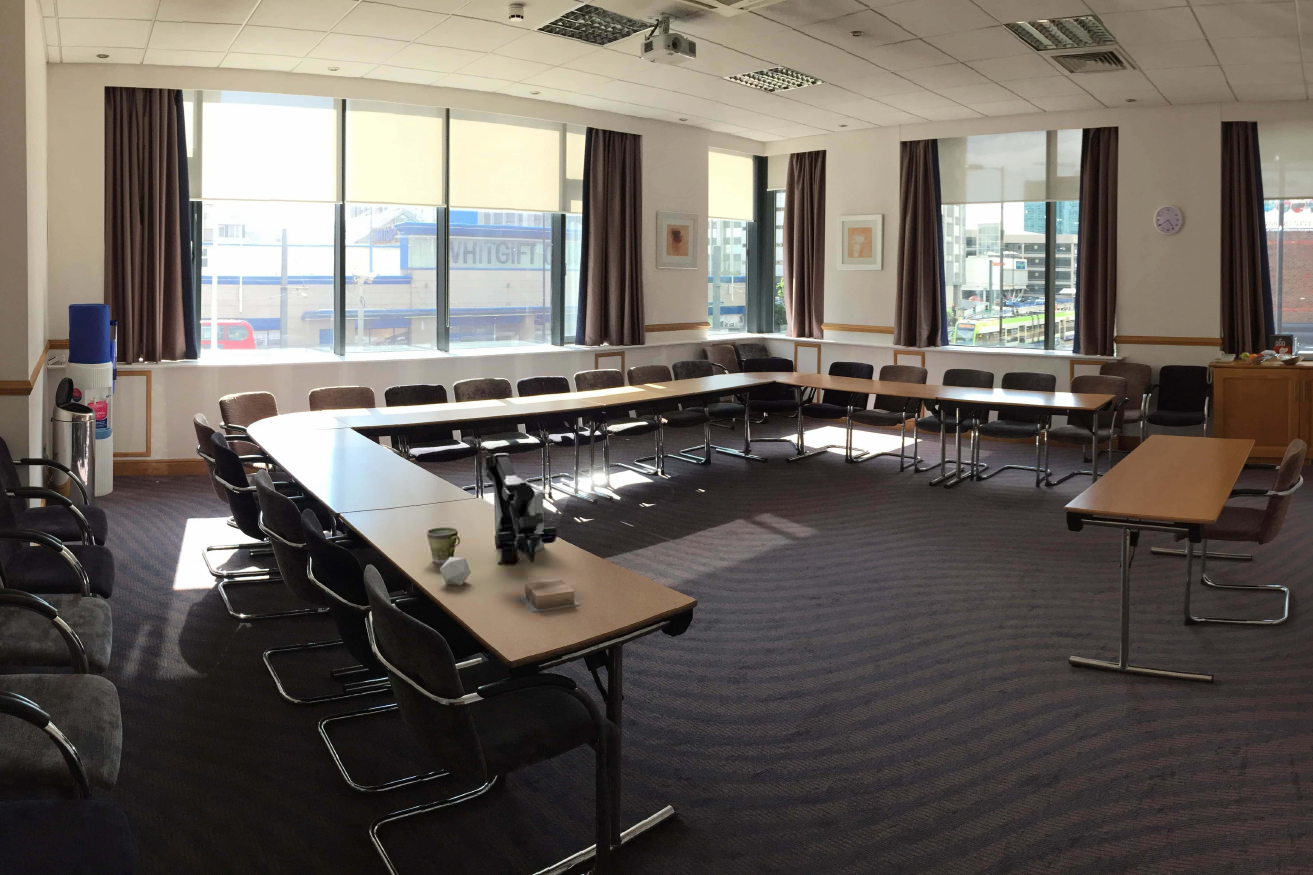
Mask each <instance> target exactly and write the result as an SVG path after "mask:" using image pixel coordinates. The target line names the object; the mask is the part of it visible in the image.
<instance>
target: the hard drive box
mask: <svg viewBox="0 0 1313 875" xmlns="http://www.w3.org/2000/svg"><path fill="white" fill-rule="evenodd" d="M534 492H535V495H534V498H533V501H532V504H531V507H530V508H529V512H530V515H532V516H534V515H535V514H536V513H542V516H543V523H541V524H538V526H536V527H537V530H536V531H535V533H541V532H542V531H543V529H544V528H545V523H544V520H545V519H544V491H543V490H534ZM493 499H494V505H493V506H494V525H495V526H494V527H495V528H494V529H495V534H496V531H497V527H498V524H499V521H500V515H499V510H498V505H497V501H496V496H495V492H494V494H493ZM512 502H513V501H511V503H512ZM528 546H529V540H528ZM544 547H545V543H543V542H542V540H541V539H540V542H539V544H538V546H537V547H536V549H535V553H536V552H538V551H539V550H541V549H542V548H544Z"/></svg>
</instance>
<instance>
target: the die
mask: <svg viewBox="0 0 1313 875" xmlns="http://www.w3.org/2000/svg"><path fill="white" fill-rule="evenodd" d="M439 571H440V573H441V576H442V578H443V581H444V582H445V584H446V585H455V586H463V584H464V583H465V581H466V580H467V579H468V578H469V576H470V575H471V574H472V571H471V569H470V566H469V564H468V561H467V560H466V558H465V557H455V556H454V557H449V559H448V560H447V561H446V562H445V563H443V564H442V566H441V567H440V568H439Z"/></svg>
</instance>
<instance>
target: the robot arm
mask: <svg viewBox="0 0 1313 875" xmlns="http://www.w3.org/2000/svg"><path fill="white" fill-rule="evenodd" d="M481 465H482V469H483V471H484V472H485V476H486V478H488V479H489V480H490V481H491V482H492V487H493V491H494V493H495V496H496V501H497V505H498V510H499V515H500V521H499V524H498V527H497V531H496V533H495V535H494V545H495V549H496V550H500V559H499V561H497V564H498V565H517V566H518V564H519V563H520V562H521V561H522V557H519V552H520V553H521V554H523V556H525V558H526V559H528V561H529V562H530V563H531V564H532V563H535V557H536V552H535V549H536V547H537V546H538V544H539V542H540V539H541V540H542V542H543V543H544V545H545V544H553V543H555V542H556V540H557V538H558V535H559V531H558V529H557V527H555V526H550V527H544V529H543V531H542V532H541V533H535V531H536V530H537V527H536V526H538V524H541V523H543V516H542V513H536V514H535V515H534V516H532V515H530V512H529V508H530V507H531V504H532V501H533V498H534V495H535V492H534V491H535V490H534V488H532V487H531V486H530V485H527V483H526V482H525V481H524V480H523V479H522V478H520V477H518V476H517V473H516V471H515V469H514V467H513V464H512V463H511V458H510V454H509V453H507V452H503V453H502V452H501V453H495V454H493V455H490V456H487V455H486V456H485V457H484V458H483V459H482V463H481ZM511 501H513V502H512V503H511ZM528 540H529V546H528Z"/></svg>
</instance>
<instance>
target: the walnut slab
mask: <svg viewBox="0 0 1313 875" xmlns="http://www.w3.org/2000/svg"><path fill="white" fill-rule="evenodd" d="M524 598H526V599H527V600H528V601H529V602H530V603H531V604H532V605H533V606H534V607H535V608H536V609H537V610H540V609H547V608H554V607H560V606H567V605H574V599H575V590H574V589H573V588H571V587H570V586H569V585H568V584H567V583H566V582H565V581H563V580H562V579H561V578H557V579H550V580H543V581H537V582H536V581H535V582H527V583H524Z"/></svg>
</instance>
